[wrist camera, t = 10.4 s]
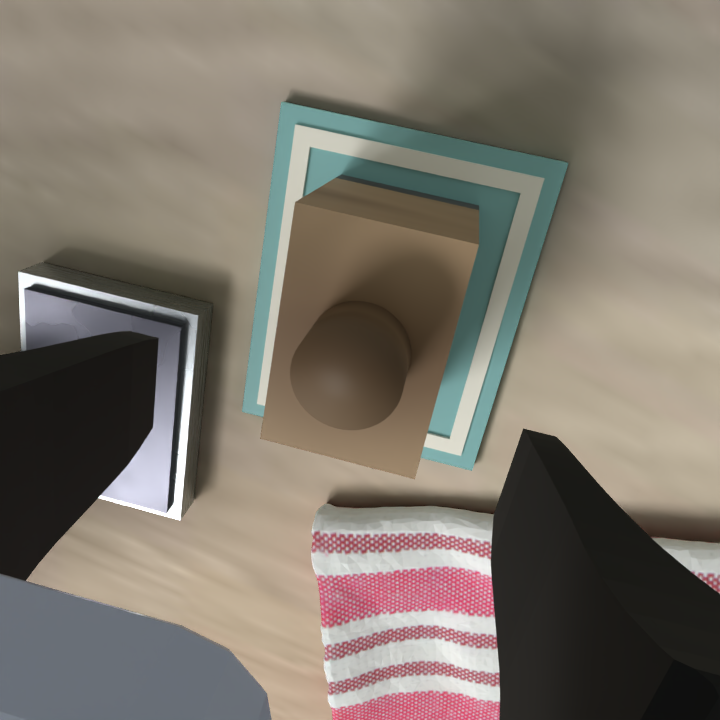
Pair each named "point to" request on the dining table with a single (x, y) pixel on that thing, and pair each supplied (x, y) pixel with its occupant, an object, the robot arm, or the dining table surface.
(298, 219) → the hand stamp
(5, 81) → the dining table surface
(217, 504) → the dining table surface
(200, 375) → the ink pad
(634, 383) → the dining table surface
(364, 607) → the dish towel
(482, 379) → the marked card
